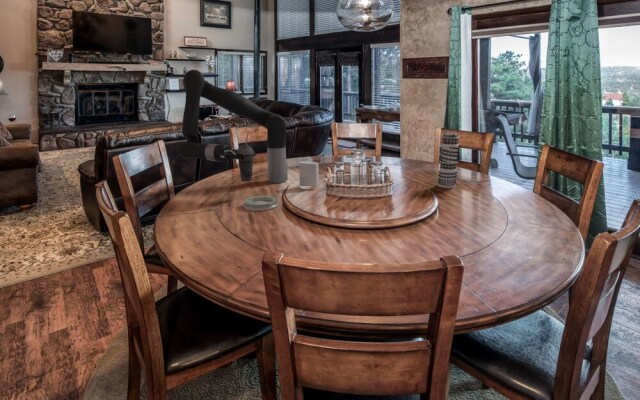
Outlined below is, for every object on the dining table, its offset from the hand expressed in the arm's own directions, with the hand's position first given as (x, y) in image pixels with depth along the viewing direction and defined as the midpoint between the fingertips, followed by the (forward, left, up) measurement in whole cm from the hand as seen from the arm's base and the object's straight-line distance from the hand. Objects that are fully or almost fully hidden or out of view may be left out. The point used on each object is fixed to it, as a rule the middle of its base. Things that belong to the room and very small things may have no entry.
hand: (249, 155), depth 187 cm
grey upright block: (-29, +11, -19) cm, 36 cm away
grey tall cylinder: (-67, +65, -19) cm, 95 cm away
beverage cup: (0, -2, -11) cm, 11 cm away
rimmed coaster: (+7, +12, -19) cm, 23 cm away
